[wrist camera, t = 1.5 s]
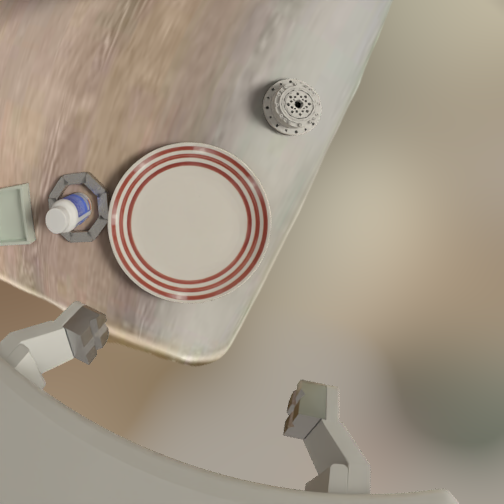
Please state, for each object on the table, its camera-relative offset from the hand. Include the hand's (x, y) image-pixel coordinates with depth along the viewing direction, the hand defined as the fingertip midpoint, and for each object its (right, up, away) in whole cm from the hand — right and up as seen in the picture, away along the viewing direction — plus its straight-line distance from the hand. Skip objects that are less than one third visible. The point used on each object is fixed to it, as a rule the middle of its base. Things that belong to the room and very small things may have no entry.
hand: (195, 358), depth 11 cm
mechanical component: (+9, +29, +34) cm, 45 cm away
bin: (-45, +12, +32) cm, 56 cm away
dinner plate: (-9, +9, +39) cm, 41 cm away
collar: (-28, +12, +34) cm, 46 cm away
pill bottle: (-28, +12, +34) cm, 46 cm away
